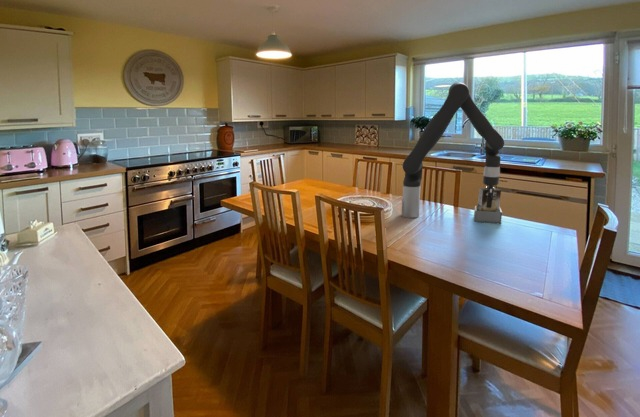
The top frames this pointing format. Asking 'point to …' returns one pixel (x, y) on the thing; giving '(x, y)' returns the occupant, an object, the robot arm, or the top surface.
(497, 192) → the coffee box
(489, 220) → the bin
